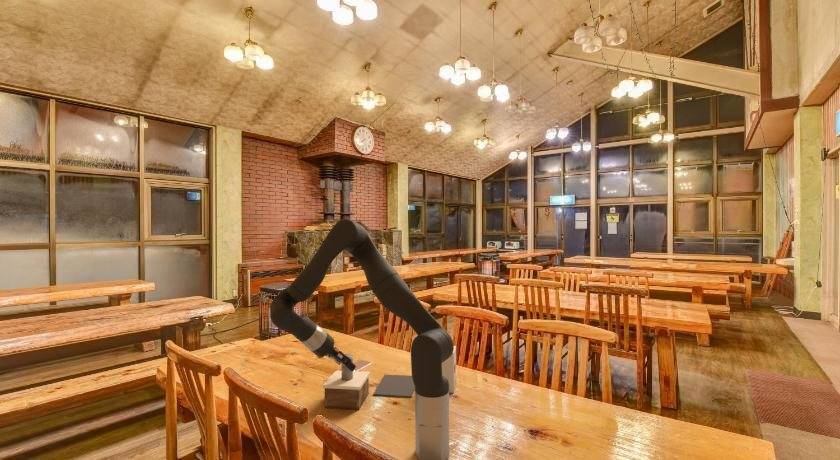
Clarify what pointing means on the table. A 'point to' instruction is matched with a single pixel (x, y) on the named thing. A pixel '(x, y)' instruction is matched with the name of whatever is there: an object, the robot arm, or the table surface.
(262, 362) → the table surface
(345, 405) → the walnut box
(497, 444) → the table surface
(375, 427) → the table surface
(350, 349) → the table surface
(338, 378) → the lid
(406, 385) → the rubber mat
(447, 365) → the supplement box
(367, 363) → the mobile phone
